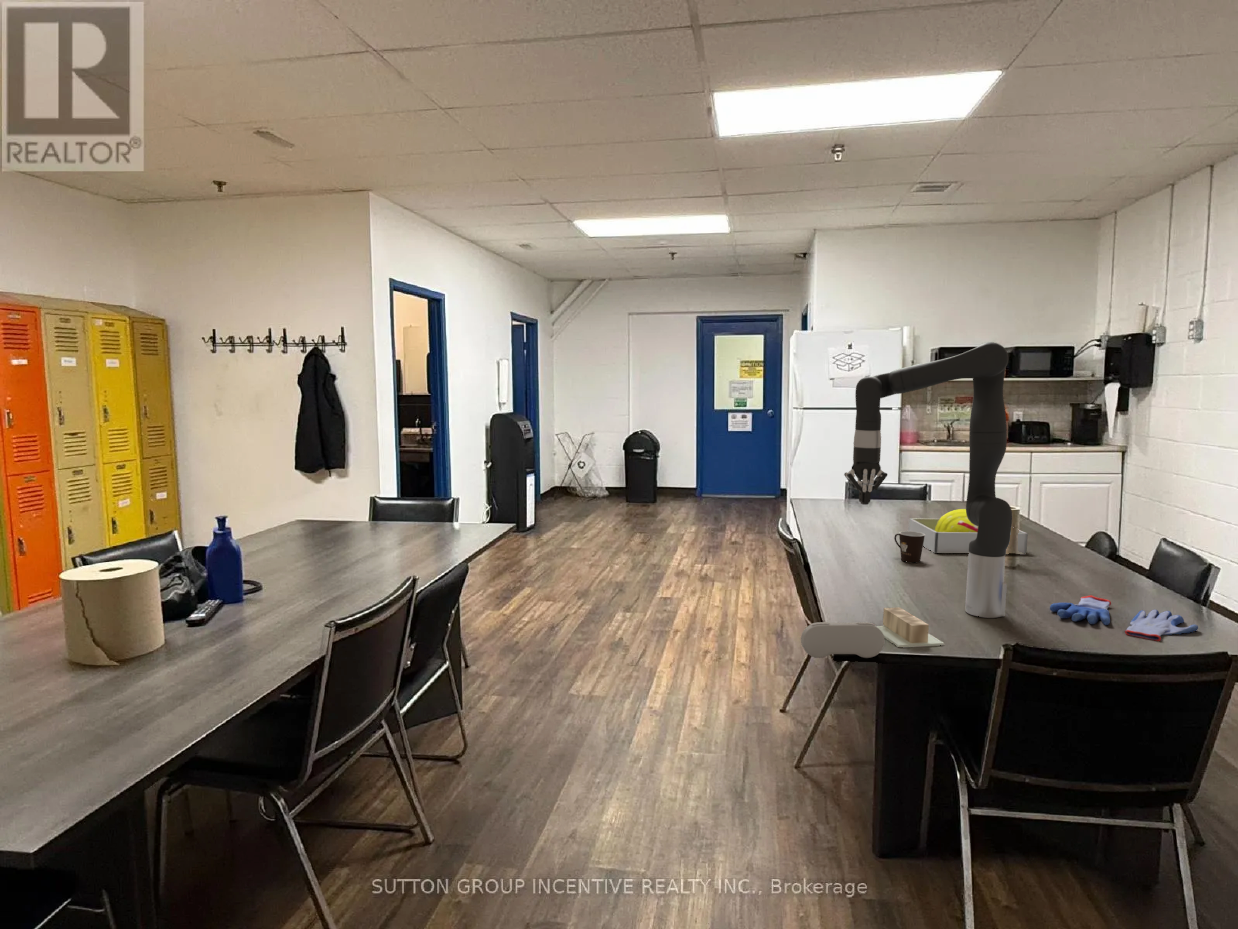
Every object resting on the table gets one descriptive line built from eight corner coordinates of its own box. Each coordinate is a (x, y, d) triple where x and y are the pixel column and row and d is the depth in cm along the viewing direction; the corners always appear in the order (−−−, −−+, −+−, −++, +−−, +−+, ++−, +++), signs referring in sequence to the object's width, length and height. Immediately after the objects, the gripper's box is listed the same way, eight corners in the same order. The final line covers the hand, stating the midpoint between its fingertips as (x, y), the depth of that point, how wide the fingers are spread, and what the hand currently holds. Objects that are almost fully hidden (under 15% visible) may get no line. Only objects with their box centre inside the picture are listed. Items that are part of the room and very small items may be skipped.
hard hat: (920, 539, 303) (922, 503, 301) (990, 544, 294) (993, 507, 293) (923, 550, 284) (925, 511, 282) (998, 555, 275) (1001, 516, 274)
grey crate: (991, 538, 304) (992, 519, 303) (1026, 554, 277) (1027, 533, 276) (907, 537, 306) (908, 518, 305) (934, 553, 278) (935, 532, 277)
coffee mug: (927, 564, 262) (928, 536, 261) (902, 563, 263) (904, 536, 261) (914, 556, 274) (916, 529, 273) (891, 555, 274) (892, 529, 273)
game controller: (880, 654, 177) (882, 621, 176) (884, 658, 175) (885, 624, 174) (799, 654, 177) (800, 621, 176) (802, 658, 174) (803, 624, 174)
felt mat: (871, 628, 195) (871, 626, 195) (913, 626, 197) (913, 624, 196) (898, 647, 181) (898, 645, 181) (943, 645, 183) (943, 643, 183)
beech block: (899, 607, 196) (928, 624, 183) (898, 623, 197) (927, 642, 183) (883, 608, 196) (911, 625, 182) (882, 624, 196) (910, 643, 183)
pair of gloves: (1203, 626, 199) (1205, 613, 198) (1183, 650, 181) (1184, 635, 181) (1070, 600, 222) (1071, 588, 222) (1041, 618, 205) (1042, 606, 204)
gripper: (852, 447, 210) (849, 507, 212) (894, 446, 213) (892, 505, 215) (839, 444, 218) (837, 502, 220) (881, 444, 220) (878, 501, 222)
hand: (864, 504), depth 217 cm, fingers closed
